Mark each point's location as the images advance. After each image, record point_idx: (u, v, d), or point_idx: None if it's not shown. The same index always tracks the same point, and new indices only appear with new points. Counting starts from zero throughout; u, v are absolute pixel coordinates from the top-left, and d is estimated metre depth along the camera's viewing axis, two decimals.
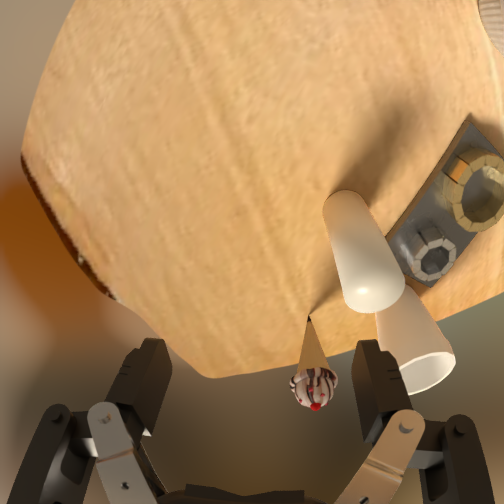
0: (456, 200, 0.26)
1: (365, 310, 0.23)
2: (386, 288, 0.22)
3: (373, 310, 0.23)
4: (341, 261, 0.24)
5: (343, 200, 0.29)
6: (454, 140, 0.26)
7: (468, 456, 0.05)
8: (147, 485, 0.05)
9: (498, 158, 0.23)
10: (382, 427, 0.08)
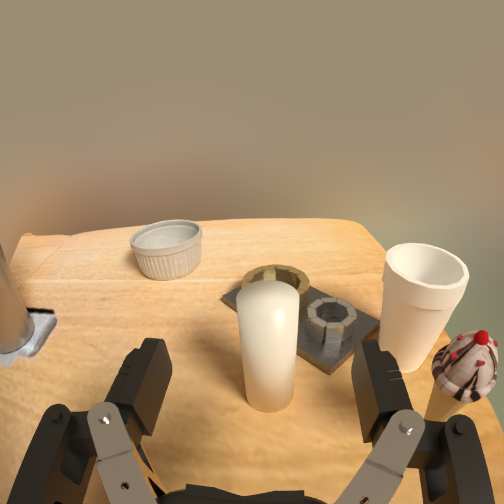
0: None
1: (293, 304, 0.23)
2: (269, 290, 0.25)
3: (296, 299, 0.23)
4: (248, 338, 0.24)
5: None
6: (235, 309, 0.43)
7: (468, 456, 0.05)
8: (147, 485, 0.05)
9: (247, 273, 0.45)
10: (382, 427, 0.08)
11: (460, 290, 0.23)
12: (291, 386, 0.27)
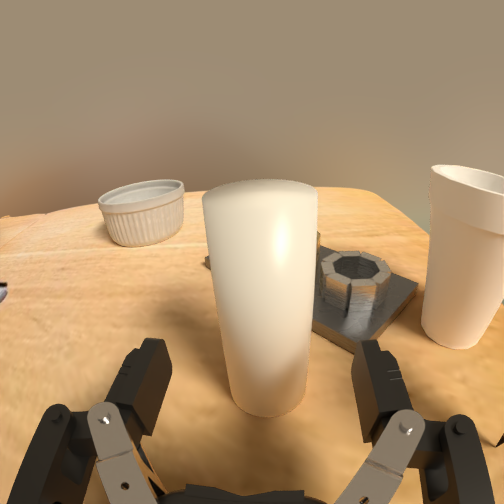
0: None
1: (308, 197, 0.12)
2: (263, 187, 0.14)
3: (312, 193, 0.13)
4: (224, 269, 0.13)
5: None
6: None
7: (468, 456, 0.05)
8: (147, 485, 0.05)
9: None
10: (382, 427, 0.08)
11: None
12: (304, 372, 0.16)
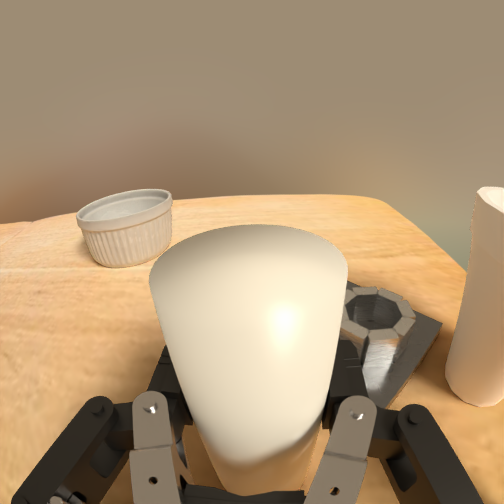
0: None
1: (332, 283, 0.07)
2: (255, 246, 0.08)
3: (338, 266, 0.07)
4: (190, 388, 0.07)
5: None
6: None
7: (430, 444, 0.06)
8: (176, 484, 0.06)
9: None
10: (335, 412, 0.08)
11: None
12: (307, 466, 0.11)
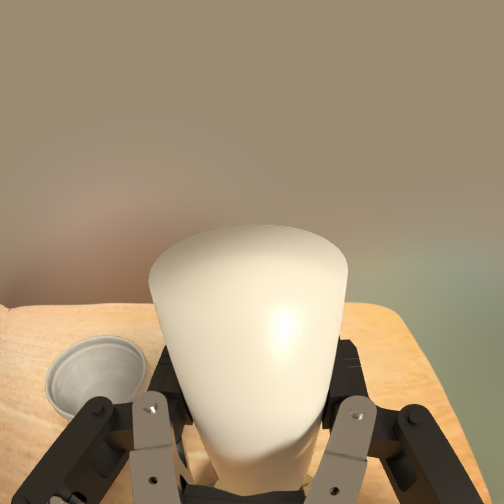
0: None
1: (333, 282, 0.07)
2: (255, 246, 0.08)
3: (338, 266, 0.07)
4: (190, 388, 0.07)
5: None
6: None
7: (430, 444, 0.06)
8: (176, 484, 0.06)
9: (218, 481, 0.21)
10: (335, 412, 0.08)
11: None
12: (307, 466, 0.11)
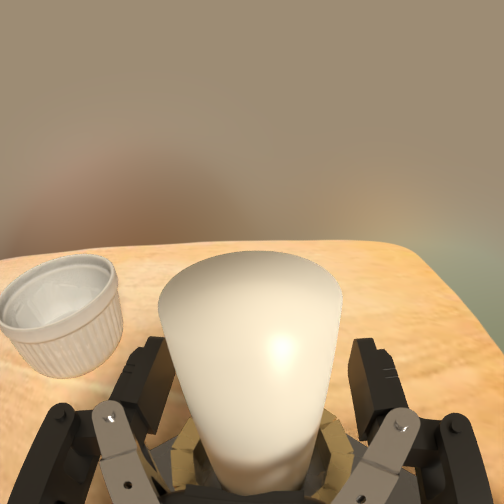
0: None
1: (328, 313, 0.07)
2: (256, 275, 0.09)
3: (334, 296, 0.08)
4: (196, 406, 0.08)
5: None
6: None
7: (464, 454, 0.05)
8: (150, 485, 0.05)
9: (190, 420, 0.15)
10: (377, 425, 0.08)
11: None
12: (305, 474, 0.11)
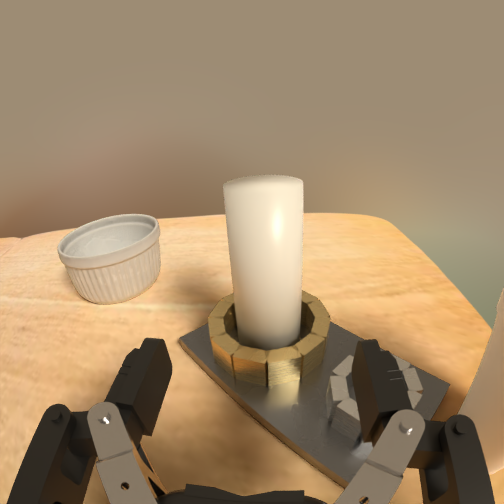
0: (261, 357, 0.20)
1: (295, 185, 0.18)
2: (265, 179, 0.20)
3: (299, 183, 0.18)
4: (238, 234, 0.18)
5: None
6: (199, 363, 0.24)
7: (468, 456, 0.05)
8: (147, 485, 0.05)
9: (220, 301, 0.26)
10: (382, 427, 0.08)
11: None
12: (297, 323, 0.22)
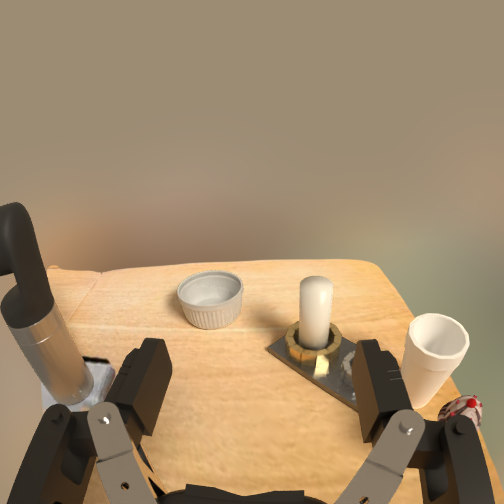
0: (314, 353, 0.46)
1: (330, 288, 0.43)
2: (317, 281, 0.45)
3: (331, 285, 0.44)
4: (306, 307, 0.44)
5: (299, 338, 0.50)
6: (280, 359, 0.50)
7: (468, 456, 0.05)
8: (147, 485, 0.05)
9: (289, 328, 0.52)
10: (382, 427, 0.08)
11: (462, 357, 0.30)
12: (327, 338, 0.48)
